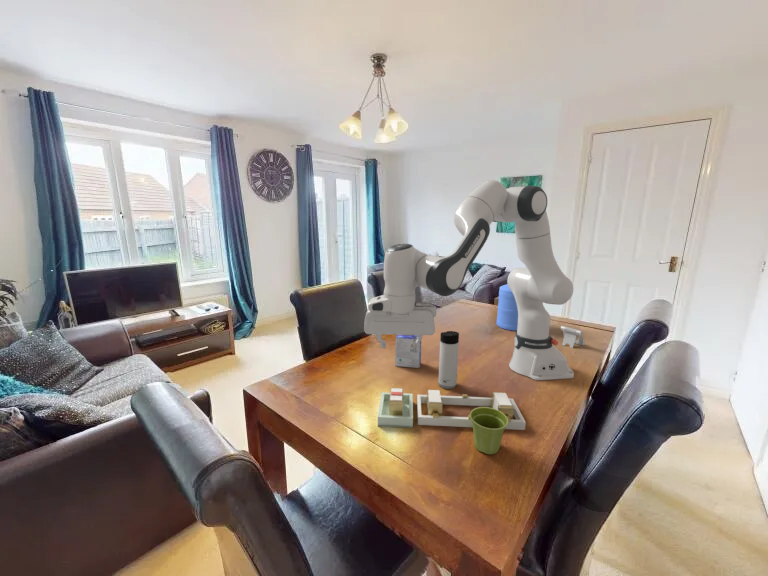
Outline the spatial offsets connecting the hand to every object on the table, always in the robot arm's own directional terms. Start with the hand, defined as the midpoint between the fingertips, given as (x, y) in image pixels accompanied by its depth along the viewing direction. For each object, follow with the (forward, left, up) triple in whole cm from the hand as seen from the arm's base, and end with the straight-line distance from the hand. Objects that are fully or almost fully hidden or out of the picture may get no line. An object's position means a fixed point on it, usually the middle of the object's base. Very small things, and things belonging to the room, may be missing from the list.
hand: (399, 347), depth 95 cm
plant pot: (-23, +13, -21) cm, 34 cm away
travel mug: (-17, -17, -21) cm, 32 cm away
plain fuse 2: (-31, 0, -21) cm, 37 cm away
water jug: (-58, -81, -21) cm, 102 cm away
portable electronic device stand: (-78, -58, -21) cm, 99 cm away
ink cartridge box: (-3, -32, -21) cm, 39 cm away
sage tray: (+1, +1, -21) cm, 21 cm away
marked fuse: (+1, +1, -21) cm, 21 cm away
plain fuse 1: (-11, 0, -21) cm, 24 cm away
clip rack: (-21, 0, -21) cm, 30 cm away
